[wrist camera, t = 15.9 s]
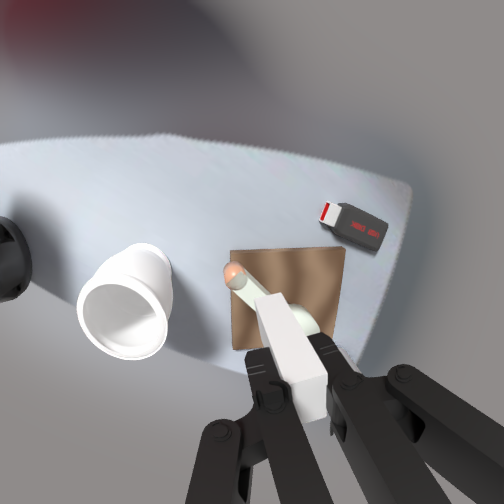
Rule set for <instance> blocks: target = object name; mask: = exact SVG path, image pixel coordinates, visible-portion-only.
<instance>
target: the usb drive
mask: <svg viewBox="0 0 504 504" xmlns="http://www.w3.org/2000/svg"><path fill="white" fill-rule="evenodd" d="M319 221H320V222H322V223H325V224H327V225H329V228H330V230H331V231H332V232H333V233H334V234H336V235H338V236H340V237H342V238H345V239H347V240H350V241H352V242H354V243H357V244H359V245H362V246H364V247H366V248H369V249H371V250H373V251H376V252H377V251H378V250H379V248H380V246H381V244H382V241H383V239H384V237H385V234H386V232H387V229H388V223H386V222H384V221H382V220H380V219H378V218H376V217H375V216H373V215H371V214H369V213H367V212H365V211H363V210H361V209H358V208H356V207H354V206H352V205H350V204H347V203H339V204H338V205H336V204H334V203H331V202H329V201H326V204H325V206H324V209H323V211H322V214H321V216H320V218H319Z"/></svg>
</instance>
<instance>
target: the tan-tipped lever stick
mask: <svg viewBox="0 0 504 504" xmlns="http://www.w3.org/2000/svg"><path fill="white" fill-rule="evenodd" d="M223 272H224V278H225V283H226V286H227V287H228V288H229V289H231V290H232V291H234V292H235V293H236V294H237V295H238V296H239V297H240V298H241V299H242V300H243V301H245V302H246V303H247V304H248V305H249V306H250V307H251V308H252V309H253V310H255V311H256V308H255V303H254V298H258V297H263V296H267V295H271V294H270V293H269V292H268V291H267V290H266V289H265V288H264V287H263V286H262V285H261V284H260V283H259V282H258V281H257V280H256V279H255V278H254V277H253V276H252V275H251V274H250V273H249V272H248V271H247V270H246V269H245V268H244V267H243V266H242V264H241V263H239V262H236V261H232V262H229V263H227V264H226V265H225V267H224V270H223ZM289 307H290V309H291V310H292V312H293V314H294V316H295V317H296V319H297V321H298V323H299V324H300V326H301V328H302V329H303V331H304V333H305V335H306V336H309V335H313V334H316V333H320V328H319V326H318V324H317V323H316V322H315V320H314V319H313V317H312V316H311V314H310V313H309V311H308V310H307V309H306V308H305V307H304V306H302V305H299V304H289Z"/></svg>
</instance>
